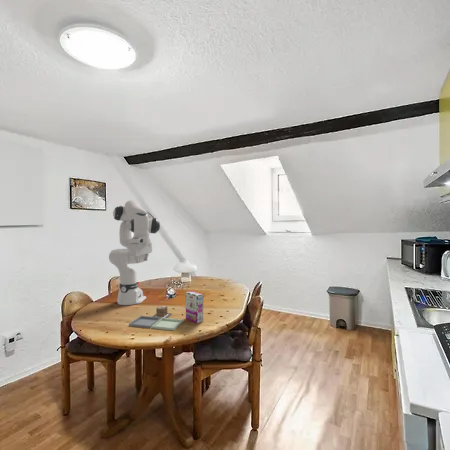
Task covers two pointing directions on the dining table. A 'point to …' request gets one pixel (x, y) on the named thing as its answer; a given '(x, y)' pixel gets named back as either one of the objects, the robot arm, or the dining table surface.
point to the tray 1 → (144, 321)
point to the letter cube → (161, 311)
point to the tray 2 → (167, 324)
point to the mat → (165, 316)
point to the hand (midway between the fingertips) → (141, 261)
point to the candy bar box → (194, 306)
